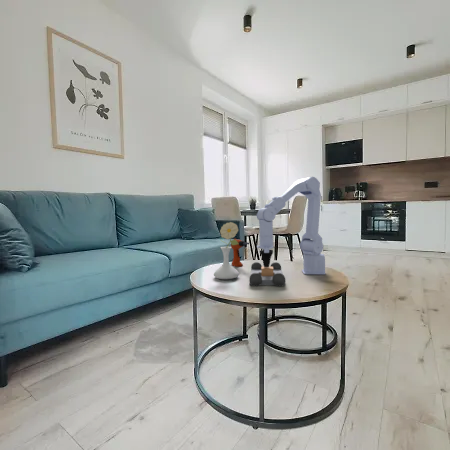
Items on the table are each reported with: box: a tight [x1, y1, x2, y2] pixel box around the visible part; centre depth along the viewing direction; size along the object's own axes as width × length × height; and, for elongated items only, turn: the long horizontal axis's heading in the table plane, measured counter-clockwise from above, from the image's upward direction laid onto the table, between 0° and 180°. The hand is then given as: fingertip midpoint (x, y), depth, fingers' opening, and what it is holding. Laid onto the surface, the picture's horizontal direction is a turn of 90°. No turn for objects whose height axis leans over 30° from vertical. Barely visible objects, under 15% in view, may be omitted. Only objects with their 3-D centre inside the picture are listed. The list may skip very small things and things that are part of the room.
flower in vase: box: [213, 221, 240, 280], centre depth 121 cm, size 13×11×25 cm
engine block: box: [261, 266, 273, 276], centre depth 120 cm, size 5×4×5 cm
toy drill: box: [230, 238, 250, 268], centre depth 145 cm, size 5×19×15 cm, turn 24°
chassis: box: [248, 261, 286, 287], centre depth 120 cm, size 14×24×5 cm, turn 173°
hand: (266, 266), depth 120 cm, fingers closed
